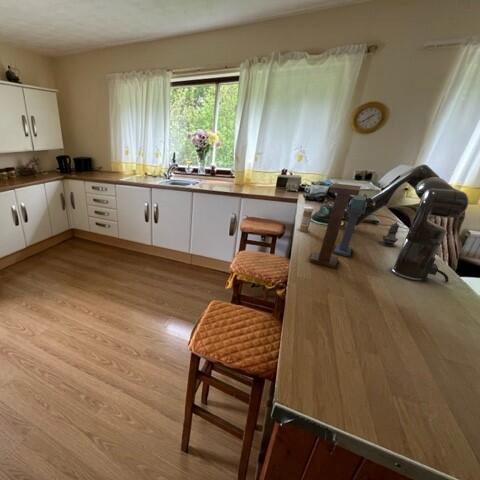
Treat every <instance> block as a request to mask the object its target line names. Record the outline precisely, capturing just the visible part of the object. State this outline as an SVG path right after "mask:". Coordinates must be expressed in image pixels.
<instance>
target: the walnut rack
mask: <svg viewBox="0 0 480 480" xmlns="http://www.w3.org/2000/svg"><path fill="white" fill-rule="evenodd" d="M360 191H361V185H354V184H353V185H352V184H344V183H332V184H331V186H330V187H329V190H328V193H333V194H336V195H335V198H334V202H333V205H332V206H333V209H332V212H331V216H330V219H329V223H328V225H326V226H327V227H326V230H325V234H324V236H323V240H322V243H321V248H320V251H319V252H317V251H314V252H313V254H312V255H311V257H310V261H309V262H310V263H312V264H317V265H319V266H320V265H321V266H324V267H327V268H331V269H336V266H337V263H338V259H339V257H338V256H334V255H332V254H333V252H334V248H335V246H336V241H337V239H338V234H339V232H340V228H341V226H342V225H341V222H343V220H344V219H343V218H344V212H345V209H346V207H347V203H348V199H349V196H353V195H356V196H358V194H359V193H360Z"/></svg>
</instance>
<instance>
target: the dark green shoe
mask: <svg viewBox="0 0 480 480" xmlns="http://www.w3.org/2000/svg"><path fill="white" fill-rule="evenodd" d="M332 209H333V205H330V204H321V205H320V207H319V210H317V211H316V212H314V213H312V216H311V220H310V222H313V223H316V224H319V225H325V226H328V223H329V219H330V216H331V212H332ZM344 224H345V222H344V221H342V222H341V225H340V226H343V225H344Z"/></svg>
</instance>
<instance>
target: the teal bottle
mask: <svg viewBox="0 0 480 480" xmlns="http://www.w3.org/2000/svg"><path fill="white" fill-rule="evenodd" d="M363 195H364V193H361V192H359V194H358V196H356V195H355V196H354V199H353V202H352V205H351V208H353V209H359V210H362V209H363V206H364V203H365V199H366V196H367V195H366V196H363Z"/></svg>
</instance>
